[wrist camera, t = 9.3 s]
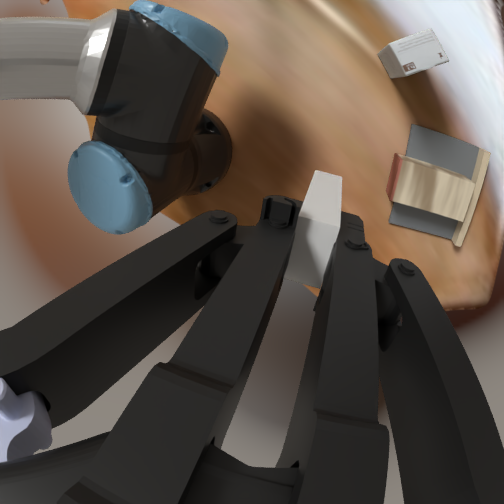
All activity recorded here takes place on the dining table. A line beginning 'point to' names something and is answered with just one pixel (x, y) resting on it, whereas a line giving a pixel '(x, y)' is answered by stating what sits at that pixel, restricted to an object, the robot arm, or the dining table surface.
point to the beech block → (429, 187)
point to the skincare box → (412, 54)
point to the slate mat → (449, 157)
